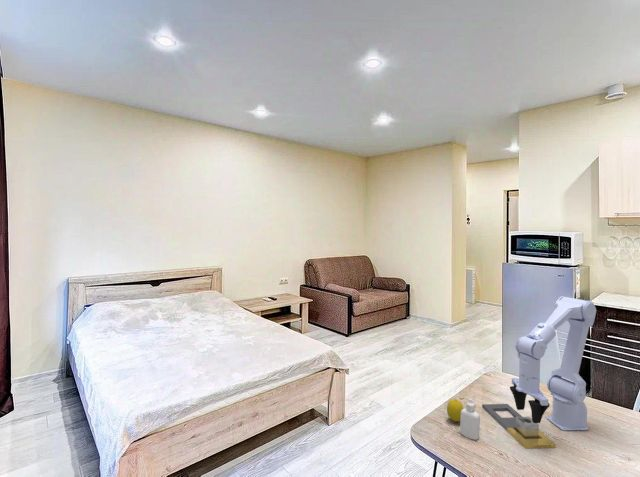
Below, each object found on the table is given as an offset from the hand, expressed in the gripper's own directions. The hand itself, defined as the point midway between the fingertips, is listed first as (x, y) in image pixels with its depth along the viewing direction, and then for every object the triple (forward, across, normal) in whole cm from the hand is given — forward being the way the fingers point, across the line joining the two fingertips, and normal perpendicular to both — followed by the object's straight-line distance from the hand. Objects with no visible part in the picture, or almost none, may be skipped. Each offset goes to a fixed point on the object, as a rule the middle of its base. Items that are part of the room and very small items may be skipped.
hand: (528, 415), depth 109 cm
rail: (+7, -6, 0) cm, 9 cm away
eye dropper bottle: (+7, -1, -19) cm, 20 cm away
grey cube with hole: (+7, 0, 0) cm, 7 cm away
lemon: (+7, -9, -20) cm, 23 cm away
